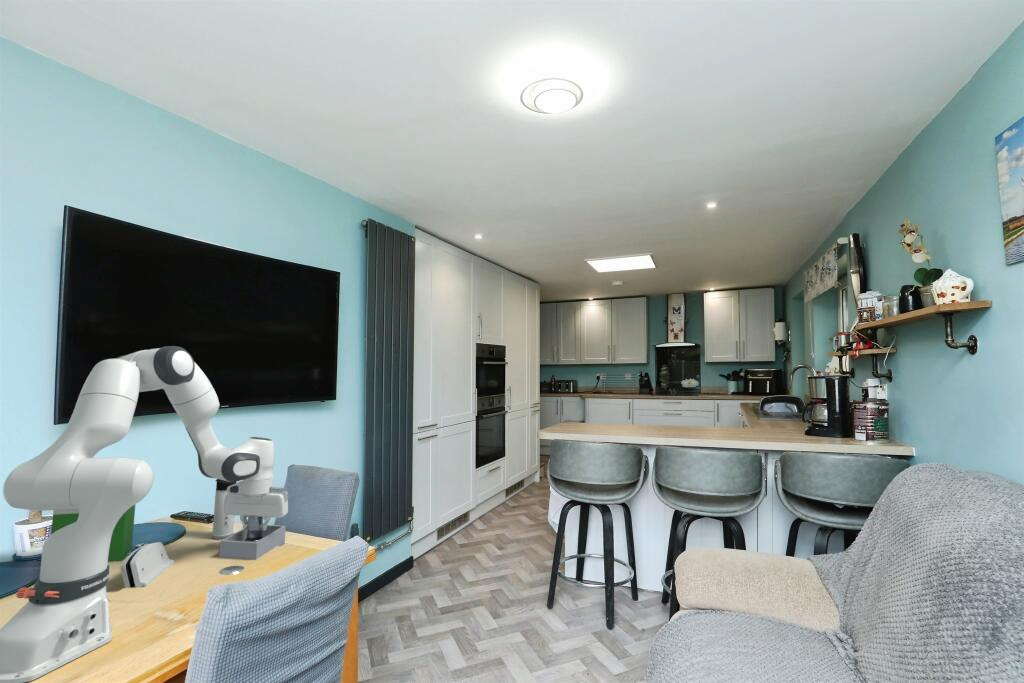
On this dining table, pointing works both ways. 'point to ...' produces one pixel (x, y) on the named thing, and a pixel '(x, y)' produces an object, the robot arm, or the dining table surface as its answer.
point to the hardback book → (120, 535)
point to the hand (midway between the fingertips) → (254, 529)
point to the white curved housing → (145, 565)
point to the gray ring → (231, 570)
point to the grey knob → (254, 529)
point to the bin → (252, 543)
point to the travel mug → (222, 512)
